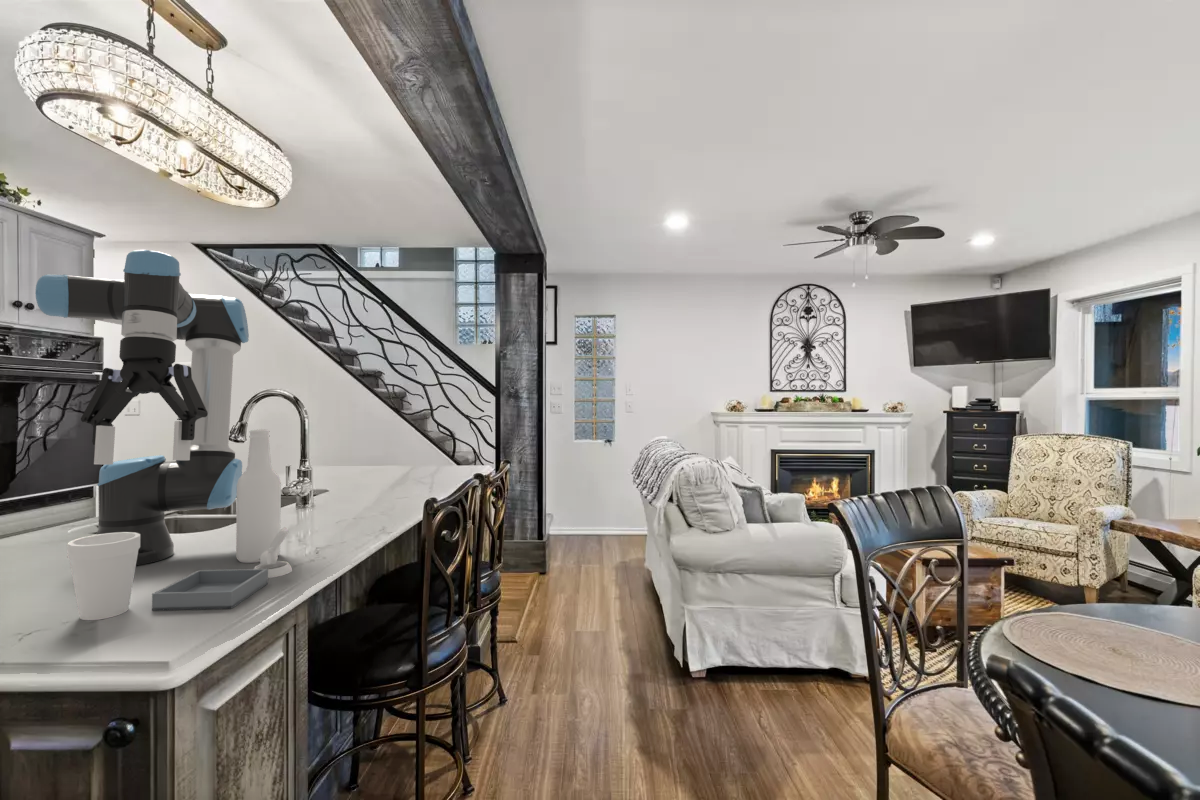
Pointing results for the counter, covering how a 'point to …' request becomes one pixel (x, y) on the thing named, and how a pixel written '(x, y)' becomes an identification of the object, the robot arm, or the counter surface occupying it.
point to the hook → (274, 557)
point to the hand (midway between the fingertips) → (142, 462)
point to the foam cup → (103, 573)
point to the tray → (210, 589)
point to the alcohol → (257, 501)
